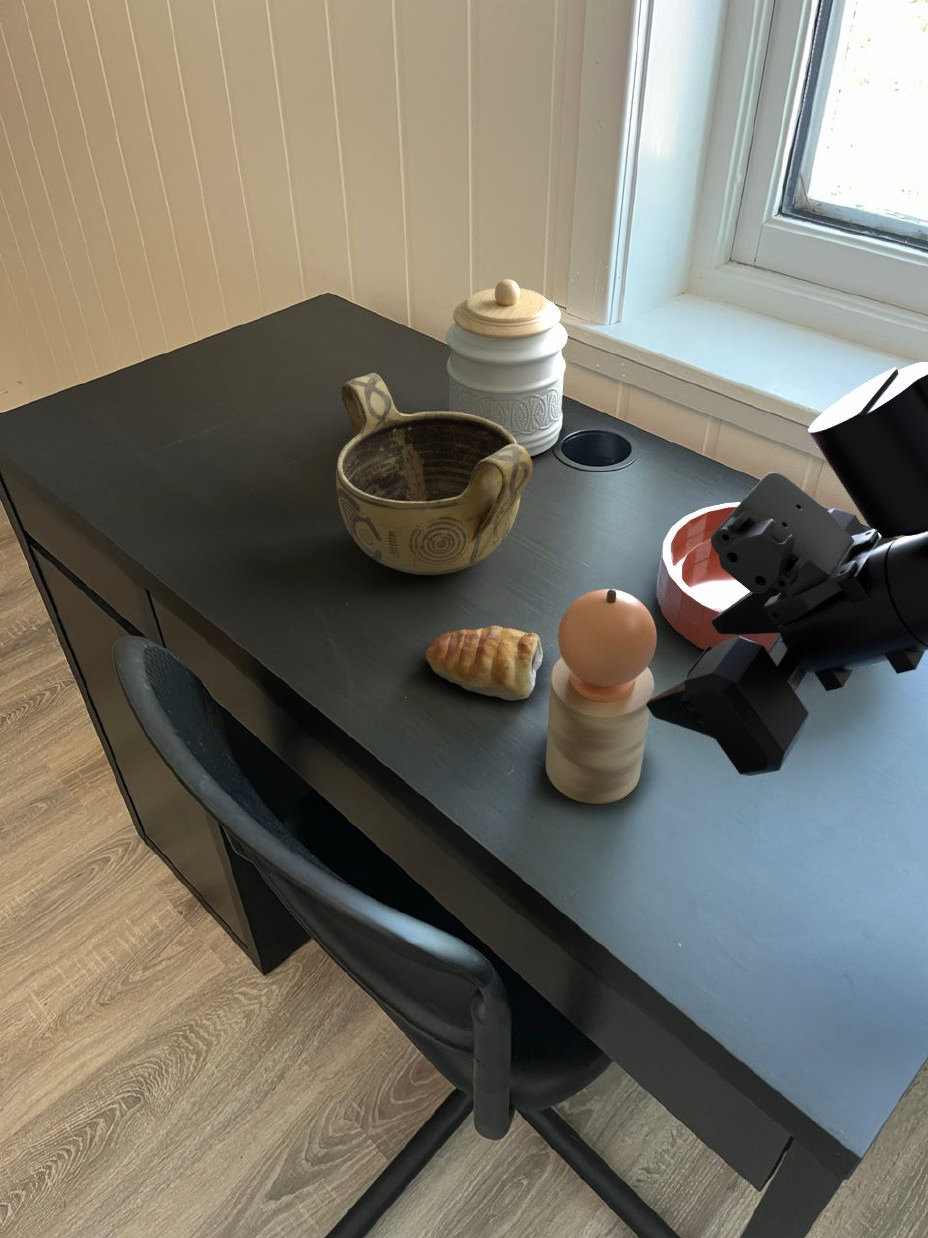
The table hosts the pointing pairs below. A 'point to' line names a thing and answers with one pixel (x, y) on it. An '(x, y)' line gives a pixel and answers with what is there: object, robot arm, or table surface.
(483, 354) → the jar
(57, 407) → the table surface
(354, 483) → the ceramic bowl
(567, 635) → the peach
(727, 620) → the robot arm
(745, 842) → the table surface
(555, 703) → the wooden cylinder
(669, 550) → the bowl
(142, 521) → the table surface
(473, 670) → the pastry
